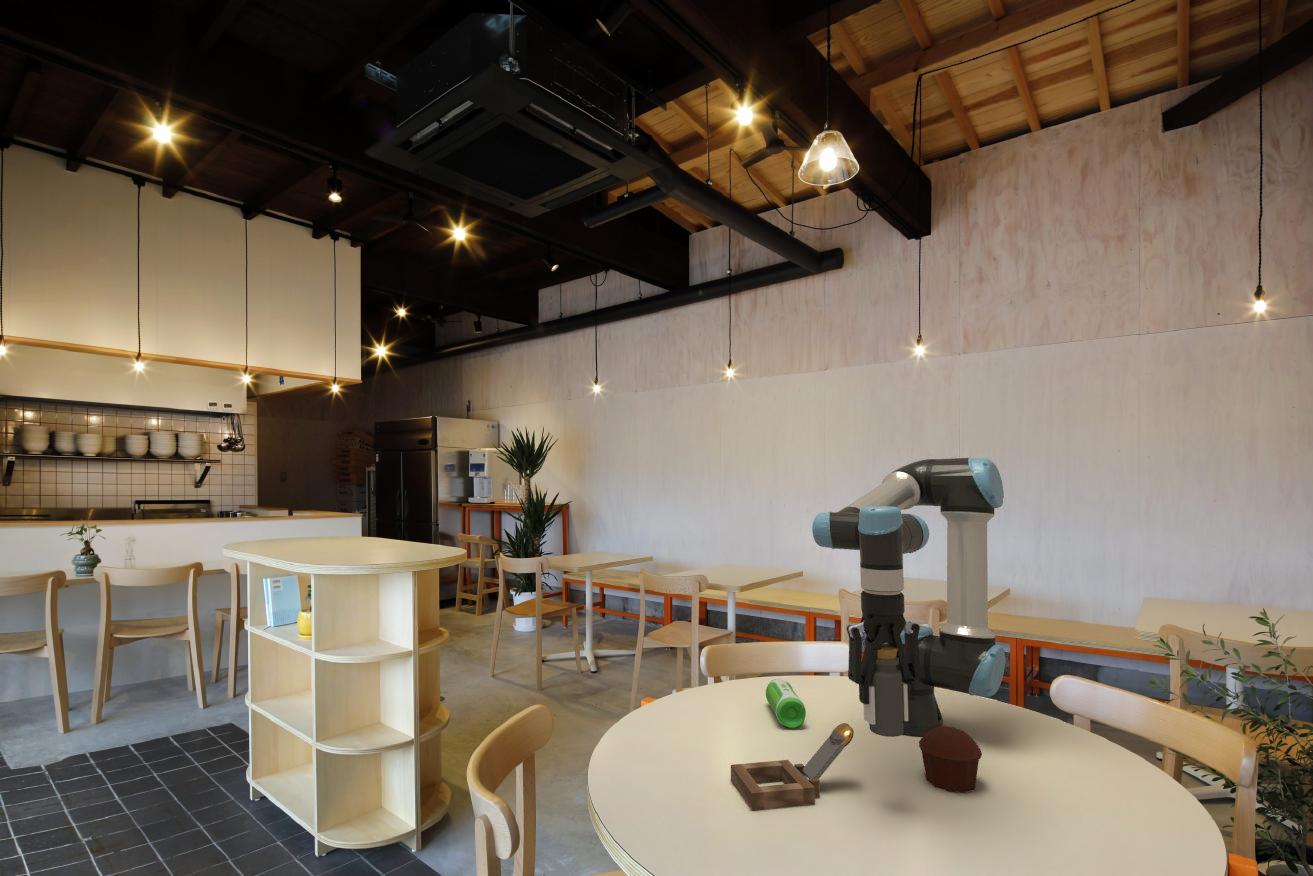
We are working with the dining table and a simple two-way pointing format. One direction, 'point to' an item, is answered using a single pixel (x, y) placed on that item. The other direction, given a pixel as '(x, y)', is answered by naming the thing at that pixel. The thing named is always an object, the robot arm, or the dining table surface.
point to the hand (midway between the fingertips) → (886, 719)
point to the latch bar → (828, 751)
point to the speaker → (785, 703)
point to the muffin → (950, 759)
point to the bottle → (887, 693)
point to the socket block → (774, 796)
